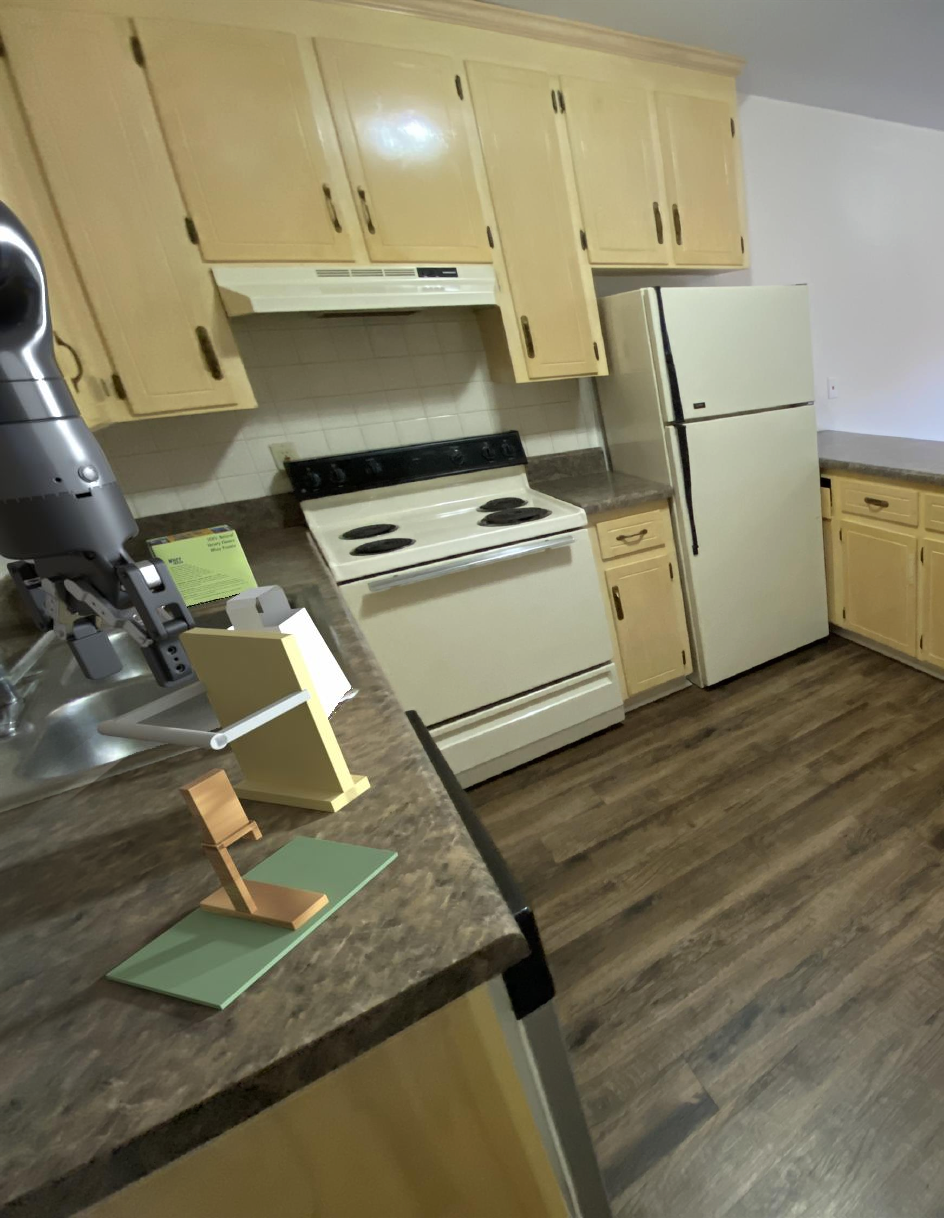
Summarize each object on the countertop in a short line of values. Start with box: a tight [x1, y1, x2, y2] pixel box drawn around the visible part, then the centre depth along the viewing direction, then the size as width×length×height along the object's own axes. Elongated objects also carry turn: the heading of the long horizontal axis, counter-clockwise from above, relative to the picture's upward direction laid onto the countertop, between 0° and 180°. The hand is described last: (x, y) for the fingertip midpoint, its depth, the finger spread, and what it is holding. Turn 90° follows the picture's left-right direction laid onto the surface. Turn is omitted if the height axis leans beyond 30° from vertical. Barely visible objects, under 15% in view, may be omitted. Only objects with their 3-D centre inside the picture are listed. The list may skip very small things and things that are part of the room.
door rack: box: [96, 627, 371, 814], centre depth 75 cm, size 13×17×22 cm
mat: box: [105, 835, 399, 1011], centre depth 65 cm, size 14×18×1 cm
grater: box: [225, 584, 352, 718], centre depth 99 cm, size 10×10×20 cm
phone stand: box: [178, 768, 329, 930], centre depth 62 cm, size 4×12×15 cm, turn 75°
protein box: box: [144, 524, 259, 606], centre depth 159 cm, size 10×15×16 cm
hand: (142, 679), depth 55 cm, fingers open, 8 cm apart
